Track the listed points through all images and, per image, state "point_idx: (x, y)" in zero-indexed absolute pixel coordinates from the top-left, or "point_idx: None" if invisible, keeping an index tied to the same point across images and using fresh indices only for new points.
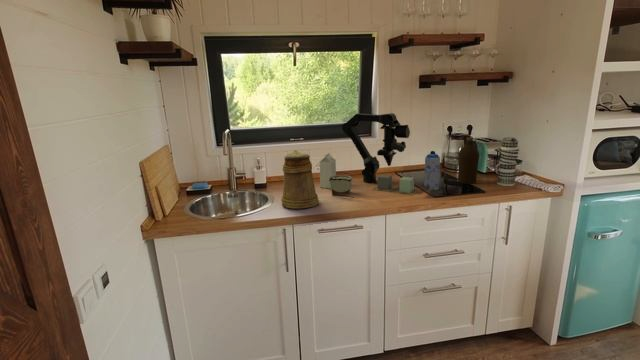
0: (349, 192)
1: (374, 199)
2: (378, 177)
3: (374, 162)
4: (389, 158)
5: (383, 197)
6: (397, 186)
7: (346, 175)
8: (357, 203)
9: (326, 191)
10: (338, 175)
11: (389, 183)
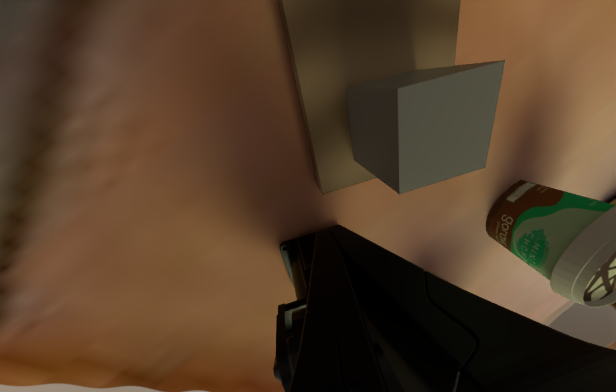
0: (543, 188)
1: (538, 54)
2: (480, 160)
3: (395, 375)
4: (489, 326)
5: (495, 30)
6: (298, 67)
7: (590, 279)
8: (603, 86)
9: (476, 280)
10: (584, 303)
11: (413, 75)
